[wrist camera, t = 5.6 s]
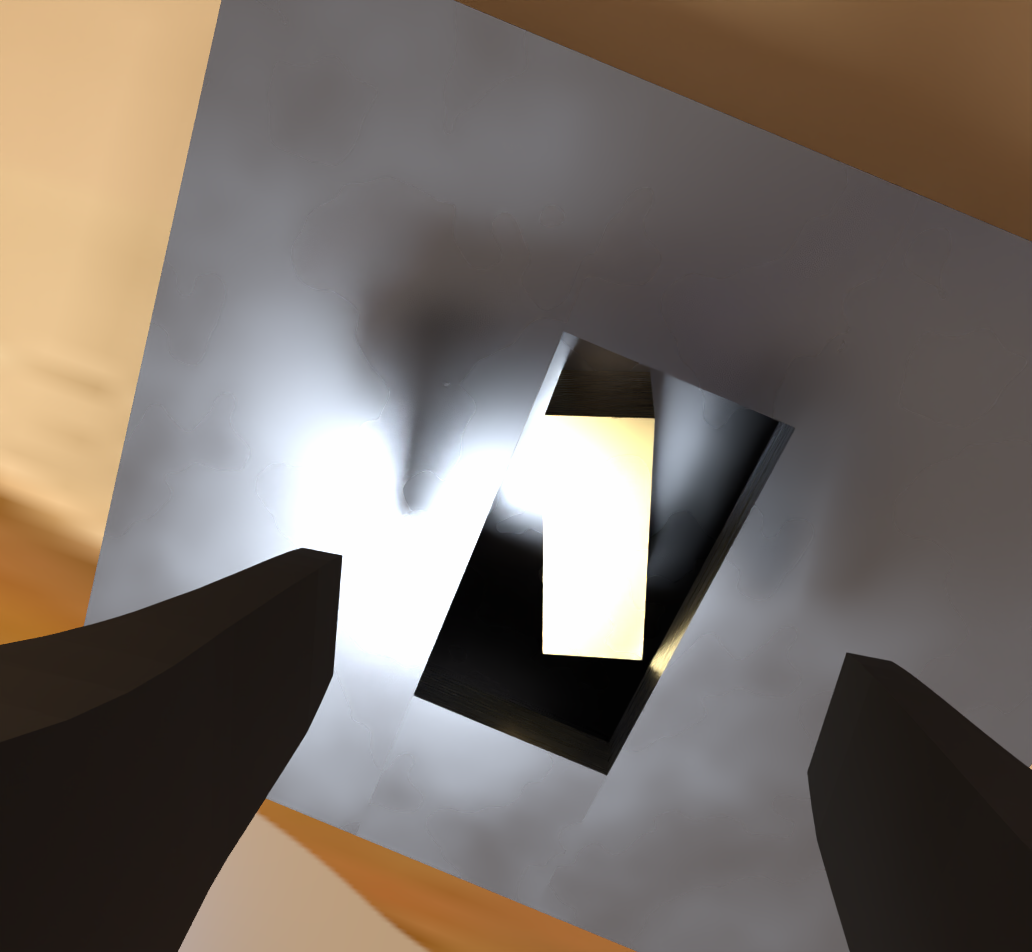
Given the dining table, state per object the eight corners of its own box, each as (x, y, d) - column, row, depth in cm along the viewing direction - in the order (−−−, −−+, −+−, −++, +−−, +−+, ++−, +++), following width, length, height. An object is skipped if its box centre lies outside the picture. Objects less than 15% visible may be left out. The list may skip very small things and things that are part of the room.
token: (650, 371, 19) (654, 418, 15) (640, 572, 20) (642, 660, 17) (561, 370, 19) (544, 414, 15) (559, 568, 21) (542, 653, 17)
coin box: (1112, 311, 17) (1340, 370, 12) (777, 820, 23) (824, 1028, 17) (367, 0, 17) (240, -89, 12) (204, 584, 23) (64, 715, 17)
